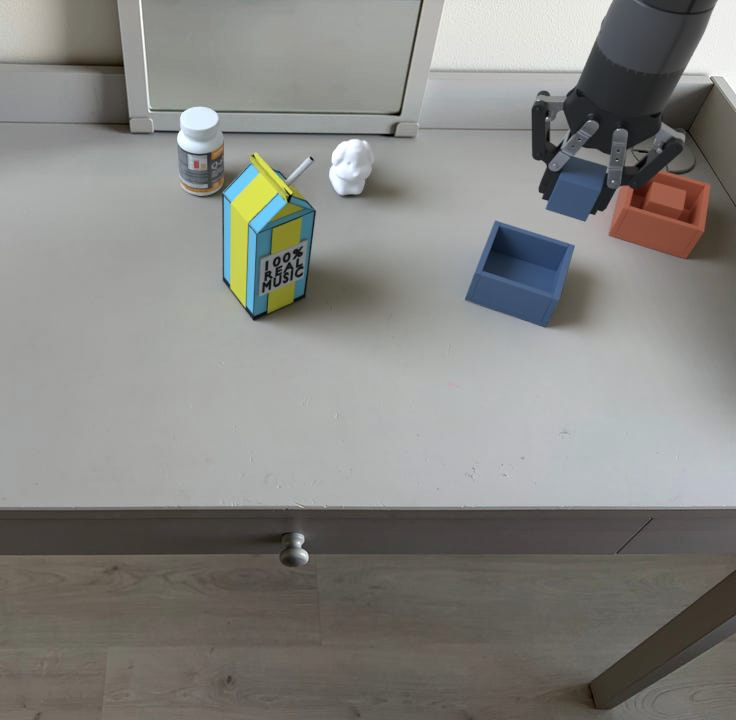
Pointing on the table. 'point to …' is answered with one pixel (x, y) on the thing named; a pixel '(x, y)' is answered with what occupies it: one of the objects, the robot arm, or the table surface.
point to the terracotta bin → (658, 228)
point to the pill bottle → (200, 151)
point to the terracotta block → (664, 200)
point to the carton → (266, 238)
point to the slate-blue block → (577, 188)
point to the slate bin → (520, 273)
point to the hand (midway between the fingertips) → (569, 201)
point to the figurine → (351, 166)
